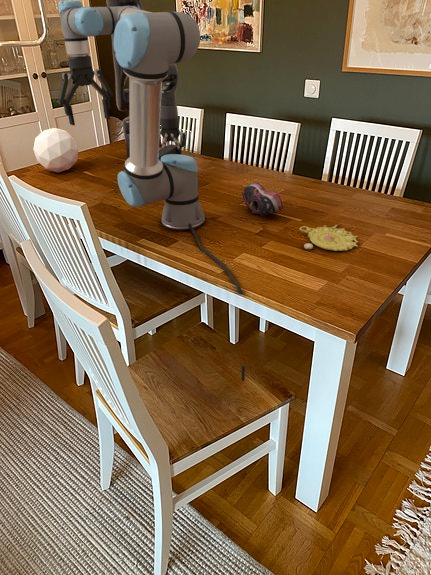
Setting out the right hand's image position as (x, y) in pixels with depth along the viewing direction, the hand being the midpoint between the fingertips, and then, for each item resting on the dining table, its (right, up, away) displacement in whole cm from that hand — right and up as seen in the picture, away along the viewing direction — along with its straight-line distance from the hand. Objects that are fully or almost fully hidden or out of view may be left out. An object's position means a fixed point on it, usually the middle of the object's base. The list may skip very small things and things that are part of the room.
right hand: (90, 121), depth 159 cm
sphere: (-29, -4, +51) cm, 59 cm away
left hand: (+26, -3, +32) cm, 42 cm away
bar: (+23, -11, +28) cm, 38 cm away
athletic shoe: (+61, -32, +3) cm, 68 cm away
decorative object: (+81, -44, -18) cm, 94 cm away
